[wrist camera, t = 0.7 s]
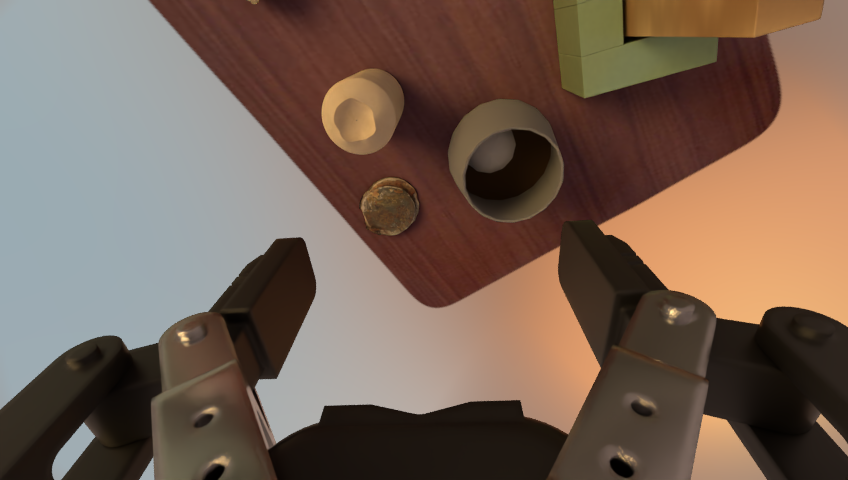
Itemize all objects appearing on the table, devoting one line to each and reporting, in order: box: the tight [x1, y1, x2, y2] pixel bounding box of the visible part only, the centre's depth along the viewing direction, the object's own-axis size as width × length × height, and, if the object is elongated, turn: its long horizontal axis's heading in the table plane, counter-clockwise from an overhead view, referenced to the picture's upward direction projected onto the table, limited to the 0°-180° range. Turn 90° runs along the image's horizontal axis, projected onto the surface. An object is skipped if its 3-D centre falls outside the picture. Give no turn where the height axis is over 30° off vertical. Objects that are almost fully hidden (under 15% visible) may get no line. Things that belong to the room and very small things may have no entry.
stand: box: [553, 0, 718, 98], centre depth 28 cm, size 9×9×6 cm
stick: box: [622, 0, 824, 38], centre depth 23 cm, size 3×3×18 cm
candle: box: [322, 69, 404, 154], centre depth 31 cm, size 6×6×10 cm
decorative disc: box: [359, 177, 419, 235], centre depth 40 cm, size 6×6×1 cm
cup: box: [448, 99, 564, 223], centre depth 32 cm, size 10×9×10 cm
